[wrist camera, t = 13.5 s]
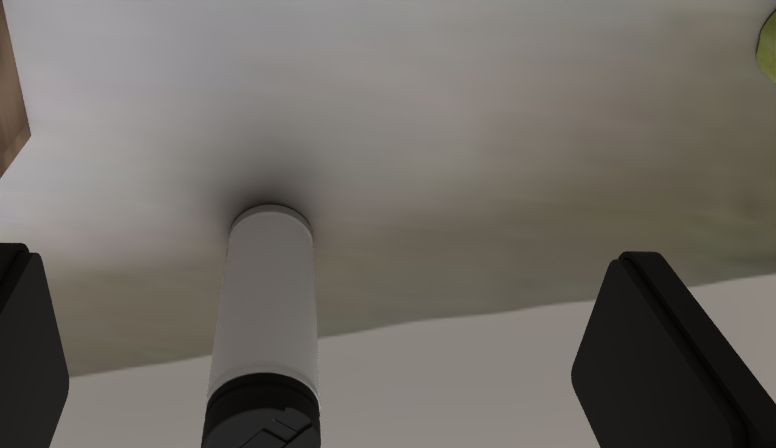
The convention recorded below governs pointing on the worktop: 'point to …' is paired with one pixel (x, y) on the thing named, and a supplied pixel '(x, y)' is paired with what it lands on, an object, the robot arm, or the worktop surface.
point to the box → (10, 102)
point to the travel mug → (266, 337)
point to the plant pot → (768, 48)
